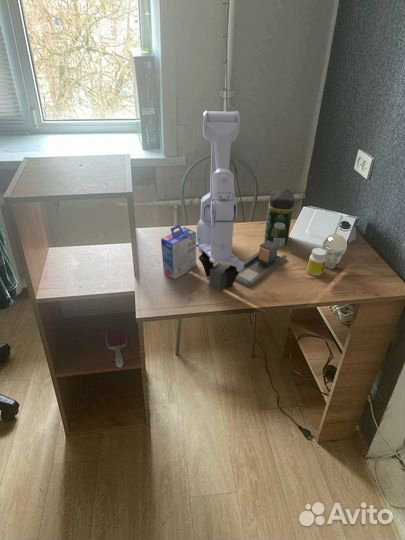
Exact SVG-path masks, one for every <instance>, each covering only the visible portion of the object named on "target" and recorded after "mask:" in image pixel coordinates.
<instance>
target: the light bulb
mask: <svg viewBox="0 0 405 540" xmlns="http://www.w3.org/2000/svg"><path fill="white" fill-rule="evenodd" d="M322 249H324V250H325V251H326V256H325V258H326V261H325V265H324V268H326V269H331V270H333V269H335V268H336V265H337V262H338V261H339V259H340V258H341V257H342V256H343V255H344V254H345V253H346V252H347V249H348V243H347V240H346V238H345V237H344V236H343V235H341V234H338V233H337V234H336V233H334V234H330V235H328V236H327V237H326V238H324V240H323V242H322Z"/></svg>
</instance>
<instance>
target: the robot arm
mask: <svg viewBox="0 0 405 540" xmlns="http://www.w3.org/2000/svg"><path fill="white" fill-rule="evenodd" d="M240 129H241V115H240V112H239V111H238V110H234V111H215V110H214V111H209V110H204V112H203V113H202V136H203V138H204V139H205V140H207V141H209V143H210V145H211V147H210V148H211V149H210V151H211V153H210V158H211V159H210V177H209V178H210V185H209V192H208V193H207V194H205V195H204V196H203V197H201V199H200V202H201V203H200V219H199V220H198V222H197V225H196V246H198V253H201V254H200V255H199V256H198V260H199V262H200V263H201V265H202V267H203V270H204V273H205V276H206V278H210V269H211V268H212V267H214V266H215V264H216V263H217V264H218V263H220V264H222V265H228V268H227V269H226V270H225V273H226V278H227V282H226V285H225V286H226V288H227V289H231V288H232V287H233V286H234V282H235V278H236V276H237V275H238V273H239V272H240V271H241V270H242V269H244V263H243V262H244V261H241V260H240V259H238V257H237V256H235V255H234V254H233V252H232V249H233V248H232V247H233V237H234V236H233V235H234V223H235V222H237V221H236V220H237V216H238V215H237V214H238V205H237V204H238V203H237V198H236V194H235V174H234V173H233V172H232V170H231V169H230V163H231V162H230V161H231V146H232V145H231V144H232V143H234V142H235V141H236V139H237V136H238V135H239V134H240Z"/></svg>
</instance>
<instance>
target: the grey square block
mask: <svg viewBox="0 0 405 540" xmlns="http://www.w3.org/2000/svg"><path fill="white" fill-rule="evenodd" d="M227 268H229V266H226V265H225V264H222V263H218V262H217V264H214V265H213V267H212V268H211V269H210V276H209V287H211V288H213V289H215V290H217V291H218V292H221V291H224V289H225V286H226V282H227V278H226V273H225V270H226V269H227Z"/></svg>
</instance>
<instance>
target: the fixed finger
mask: <svg viewBox="0 0 405 540" xmlns="http://www.w3.org/2000/svg"><path fill="white" fill-rule="evenodd" d="M278 248H279V247H278V244H276V243H273V242H271V241H269V240H267V241H265V240H264V242H262V243H261V244H260V245H259V250H258V252H259V258H258V261H259V262H261V263H263V264H265V265H268V266H270V265H271V264H272V263H274V262H275V261H276V256H277V255H278Z"/></svg>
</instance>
